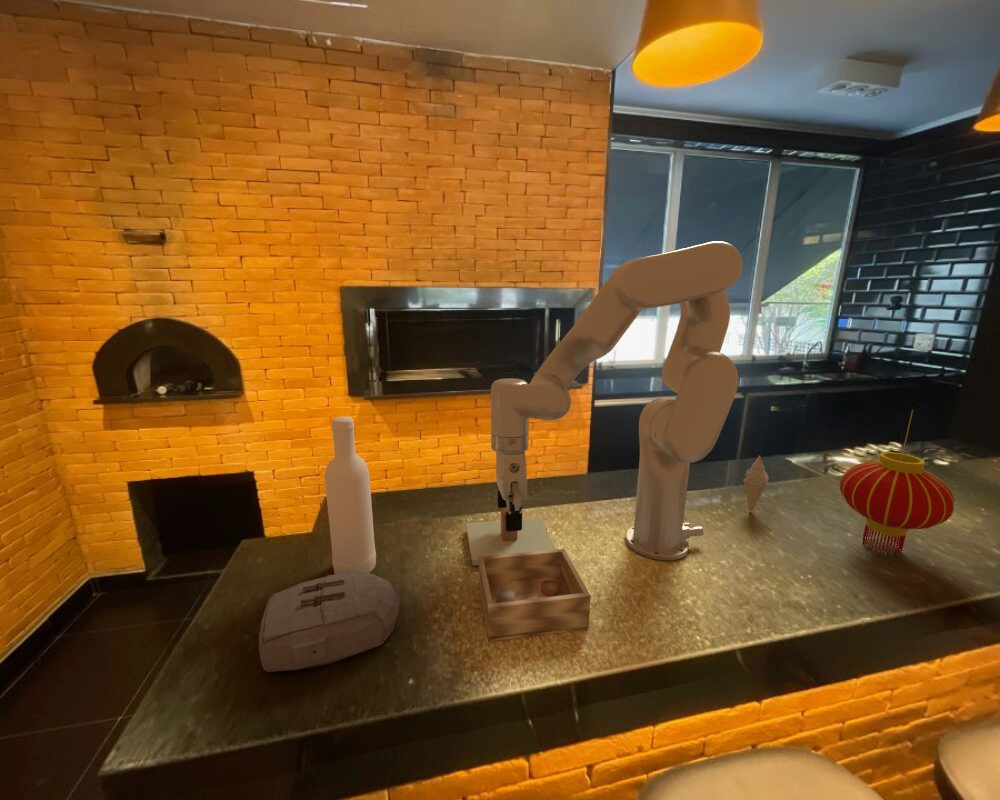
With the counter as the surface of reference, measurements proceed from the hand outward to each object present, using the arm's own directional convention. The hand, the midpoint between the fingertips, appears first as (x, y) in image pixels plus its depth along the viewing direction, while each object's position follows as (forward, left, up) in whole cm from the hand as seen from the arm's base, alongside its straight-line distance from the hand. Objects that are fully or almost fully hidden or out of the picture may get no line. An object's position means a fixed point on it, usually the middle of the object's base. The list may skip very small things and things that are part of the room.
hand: (509, 518), depth 89 cm
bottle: (+31, +3, -6) cm, 32 cm away
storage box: (0, +19, -6) cm, 20 cm away
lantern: (-77, +14, -6) cm, 79 cm away
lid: (0, 0, -6) cm, 6 cm away
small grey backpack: (+31, +20, -6) cm, 38 cm away
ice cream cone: (-61, -4, -6) cm, 61 cm away
